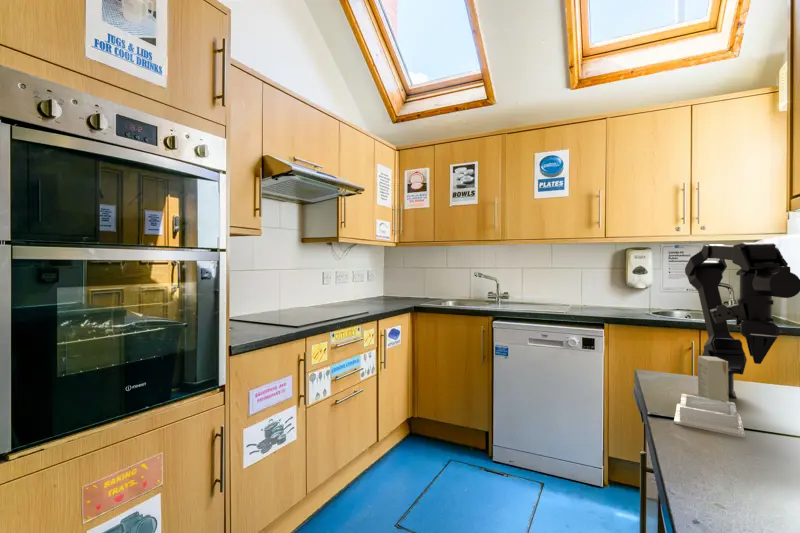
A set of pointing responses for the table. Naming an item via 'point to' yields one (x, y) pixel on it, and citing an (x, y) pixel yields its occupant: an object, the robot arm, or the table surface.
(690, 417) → the square open tray
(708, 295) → the robot arm
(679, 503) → the table surface
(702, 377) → the skincare box
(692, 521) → the table surface
